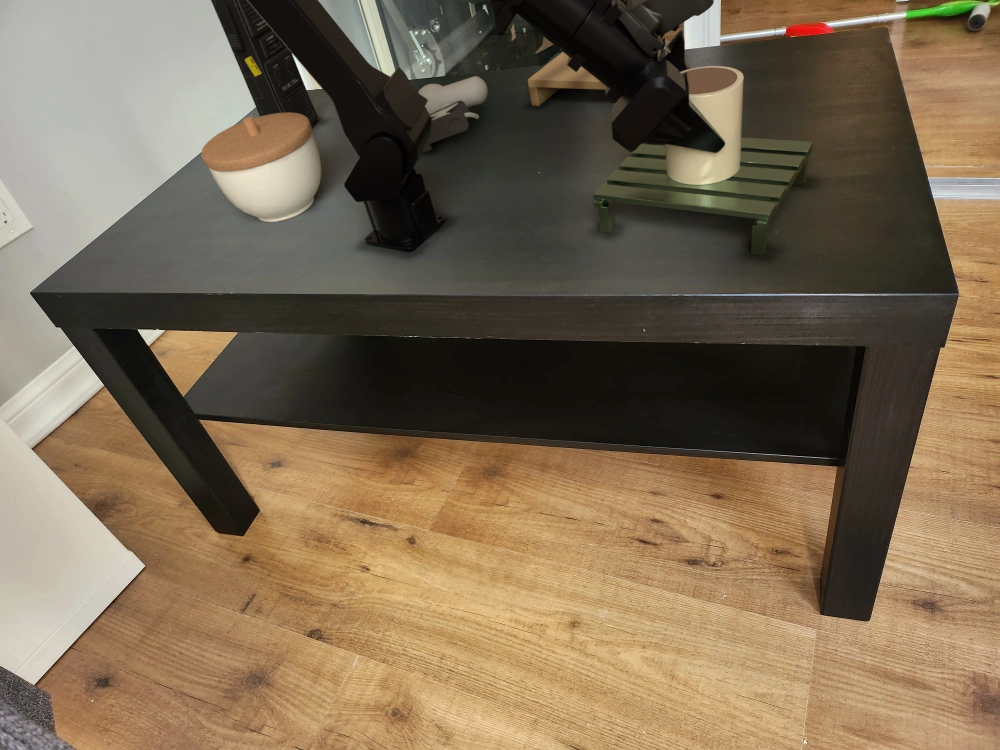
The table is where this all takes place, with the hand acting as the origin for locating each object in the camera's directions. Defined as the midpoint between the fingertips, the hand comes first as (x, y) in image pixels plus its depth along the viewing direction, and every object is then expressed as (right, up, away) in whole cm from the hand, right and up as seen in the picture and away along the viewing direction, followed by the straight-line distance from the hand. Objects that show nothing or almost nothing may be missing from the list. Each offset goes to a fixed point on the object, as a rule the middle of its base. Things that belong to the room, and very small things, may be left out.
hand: (718, 130), depth 63 cm
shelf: (-5, +16, +32) cm, 36 cm away
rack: (0, -6, +5) cm, 8 cm away
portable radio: (-50, +14, +42) cm, 67 cm away
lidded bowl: (-46, -1, +23) cm, 51 cm away
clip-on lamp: (-30, +10, +32) cm, 45 cm away
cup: (-1, -3, +3) cm, 4 cm away
